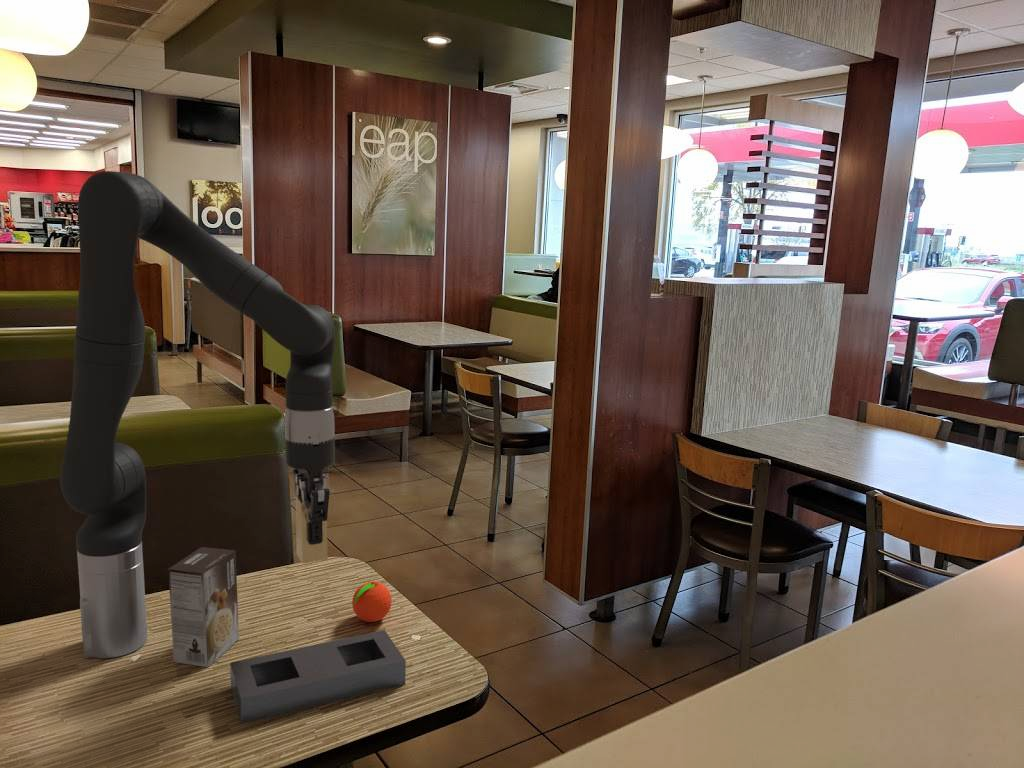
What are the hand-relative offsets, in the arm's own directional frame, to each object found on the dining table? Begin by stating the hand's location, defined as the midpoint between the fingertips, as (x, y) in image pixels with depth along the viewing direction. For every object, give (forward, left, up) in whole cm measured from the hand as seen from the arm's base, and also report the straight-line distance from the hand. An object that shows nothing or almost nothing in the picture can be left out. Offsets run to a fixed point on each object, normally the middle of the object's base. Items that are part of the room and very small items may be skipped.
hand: (311, 537), depth 124 cm
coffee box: (-16, +6, -20) cm, 26 cm away
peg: (0, 0, -3) cm, 3 cm away
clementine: (+11, +5, -20) cm, 23 cm away
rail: (-2, -11, -19) cm, 22 cm away
